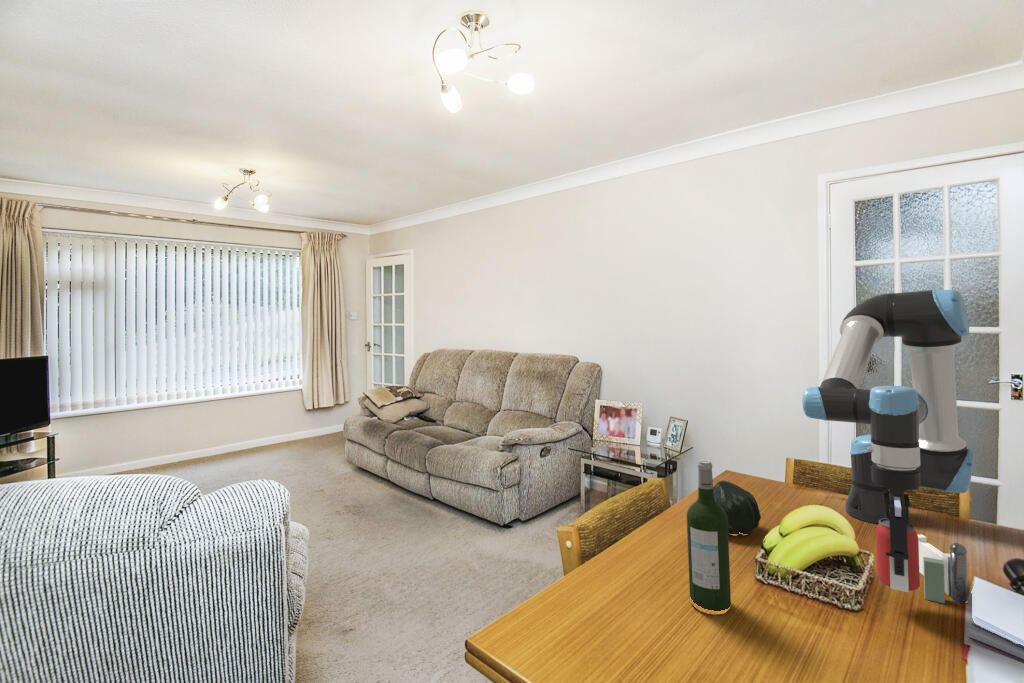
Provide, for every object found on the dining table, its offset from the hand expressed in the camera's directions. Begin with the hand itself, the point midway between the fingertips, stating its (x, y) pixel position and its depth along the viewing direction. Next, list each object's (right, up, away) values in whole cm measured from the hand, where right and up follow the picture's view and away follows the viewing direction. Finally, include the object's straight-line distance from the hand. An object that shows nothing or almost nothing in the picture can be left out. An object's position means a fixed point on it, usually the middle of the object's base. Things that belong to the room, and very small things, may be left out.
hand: (898, 581), depth 96 cm
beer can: (0, -1, 0) cm, 1 cm away
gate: (+16, -5, +10) cm, 19 cm away
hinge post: (+14, -5, +2) cm, 15 cm away
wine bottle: (-35, -8, +5) cm, 36 cm away
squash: (-15, -6, +40) cm, 43 cm away
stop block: (+10, -5, +3) cm, 12 cm away
